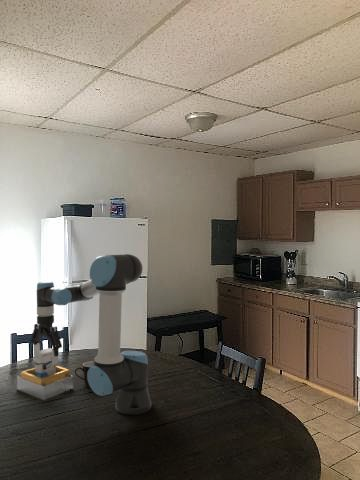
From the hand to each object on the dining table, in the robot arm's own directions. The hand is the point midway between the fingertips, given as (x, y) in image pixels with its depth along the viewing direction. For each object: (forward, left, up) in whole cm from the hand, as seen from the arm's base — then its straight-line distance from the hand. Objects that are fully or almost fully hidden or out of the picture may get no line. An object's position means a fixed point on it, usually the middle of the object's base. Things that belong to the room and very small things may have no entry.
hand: (45, 360), depth 184 cm
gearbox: (+2, 0, -13) cm, 14 cm away
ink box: (0, 0, -7) cm, 7 cm away
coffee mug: (-12, -16, -14) cm, 24 cm away
